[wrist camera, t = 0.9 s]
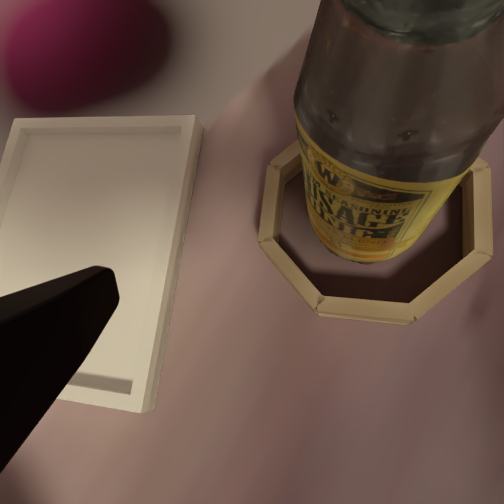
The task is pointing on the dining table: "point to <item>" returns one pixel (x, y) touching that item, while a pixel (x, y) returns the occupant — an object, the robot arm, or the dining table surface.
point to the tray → (103, 232)
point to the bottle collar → (474, 257)
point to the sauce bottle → (394, 115)
